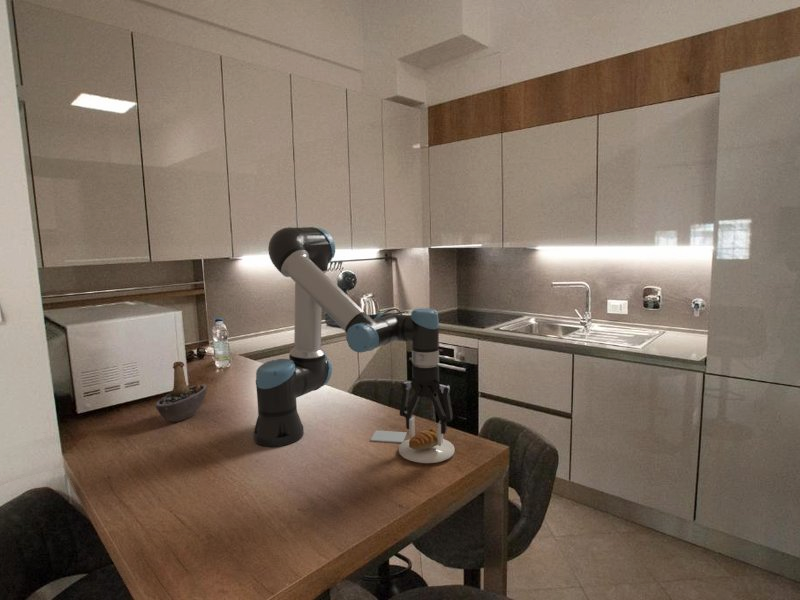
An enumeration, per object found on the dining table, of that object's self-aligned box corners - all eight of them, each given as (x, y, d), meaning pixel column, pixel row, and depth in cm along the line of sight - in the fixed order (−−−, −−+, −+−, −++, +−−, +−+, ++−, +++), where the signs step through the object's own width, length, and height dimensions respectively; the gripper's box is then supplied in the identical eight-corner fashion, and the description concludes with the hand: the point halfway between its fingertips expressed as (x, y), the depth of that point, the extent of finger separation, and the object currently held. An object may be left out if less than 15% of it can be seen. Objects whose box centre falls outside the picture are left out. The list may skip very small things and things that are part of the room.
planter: (208, 406, 176) (204, 354, 173) (205, 423, 160) (200, 366, 158) (164, 412, 171) (159, 358, 169) (156, 430, 156) (151, 370, 153)
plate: (390, 460, 132) (390, 456, 132) (409, 437, 147) (409, 433, 146) (446, 469, 126) (446, 465, 126) (460, 444, 141) (460, 440, 141)
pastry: (420, 454, 130) (419, 441, 129) (402, 447, 135) (402, 434, 134) (442, 443, 136) (442, 431, 136) (425, 436, 141) (425, 424, 141)
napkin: (370, 441, 144) (370, 439, 144) (375, 431, 151) (375, 430, 151) (402, 443, 143) (402, 441, 142) (406, 433, 149) (406, 432, 149)
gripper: (386, 364, 133) (387, 442, 136) (458, 371, 126) (458, 452, 129) (395, 358, 140) (397, 431, 143) (464, 363, 133) (464, 441, 136)
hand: (426, 441), depth 136 cm, fingers closed on pastry, 8 cm apart
